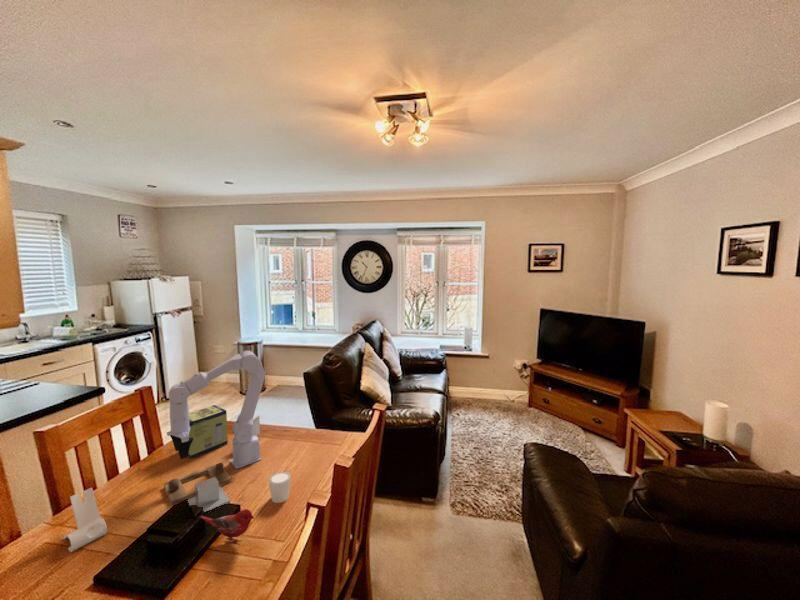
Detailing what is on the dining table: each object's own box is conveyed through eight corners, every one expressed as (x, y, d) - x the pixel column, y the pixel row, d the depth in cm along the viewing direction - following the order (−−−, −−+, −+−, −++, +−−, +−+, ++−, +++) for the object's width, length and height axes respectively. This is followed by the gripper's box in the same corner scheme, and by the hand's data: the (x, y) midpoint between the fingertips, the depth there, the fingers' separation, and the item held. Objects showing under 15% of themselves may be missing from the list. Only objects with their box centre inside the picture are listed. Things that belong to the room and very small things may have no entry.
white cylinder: (295, 493, 115) (294, 473, 114) (282, 506, 108) (281, 485, 108) (278, 488, 117) (278, 469, 116) (264, 501, 110) (264, 481, 110)
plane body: (219, 466, 130) (219, 455, 130) (231, 481, 121) (230, 469, 120) (163, 487, 117) (163, 475, 117) (172, 505, 108) (171, 492, 108)
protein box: (179, 451, 141) (177, 416, 140) (216, 437, 154) (215, 404, 153) (190, 459, 135) (188, 422, 134) (228, 443, 148) (227, 409, 147)
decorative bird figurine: (252, 549, 91) (251, 514, 91) (195, 540, 94) (193, 506, 94) (258, 540, 94) (257, 507, 93) (203, 532, 97) (201, 499, 96)
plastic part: (72, 554, 90) (69, 513, 89) (59, 539, 95) (56, 500, 94) (107, 535, 96) (104, 497, 95) (93, 522, 101) (91, 485, 100)
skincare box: (252, 447, 145) (251, 420, 144) (243, 446, 145) (242, 419, 144) (260, 440, 151) (259, 415, 150) (252, 439, 151) (251, 414, 150)
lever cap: (215, 493, 113) (214, 476, 113) (219, 499, 110) (218, 481, 110) (195, 502, 109) (194, 484, 108) (198, 508, 106) (197, 490, 106)
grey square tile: (220, 488, 117) (220, 486, 117) (230, 502, 110) (230, 500, 110) (187, 502, 110) (187, 499, 110) (195, 518, 103) (195, 515, 103)
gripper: (162, 415, 123) (164, 450, 124) (170, 428, 113) (172, 466, 114) (184, 409, 128) (186, 443, 129) (194, 421, 118) (196, 458, 119)
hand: (181, 453), depth 122 cm, fingers open, 7 cm apart
